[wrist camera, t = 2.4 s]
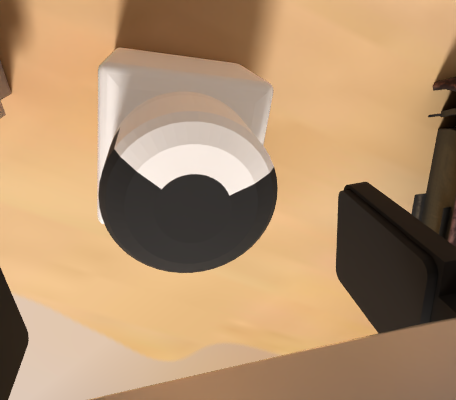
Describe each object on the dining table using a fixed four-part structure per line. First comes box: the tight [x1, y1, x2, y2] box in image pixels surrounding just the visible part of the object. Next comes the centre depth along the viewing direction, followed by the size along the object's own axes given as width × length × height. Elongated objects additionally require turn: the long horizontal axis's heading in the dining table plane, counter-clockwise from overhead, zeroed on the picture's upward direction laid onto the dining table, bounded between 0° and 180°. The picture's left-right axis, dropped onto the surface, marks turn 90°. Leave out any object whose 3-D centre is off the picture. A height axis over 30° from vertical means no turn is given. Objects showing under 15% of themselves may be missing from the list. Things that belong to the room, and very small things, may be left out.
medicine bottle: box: [98, 48, 277, 273], centre depth 18 cm, size 7×7×12 cm
